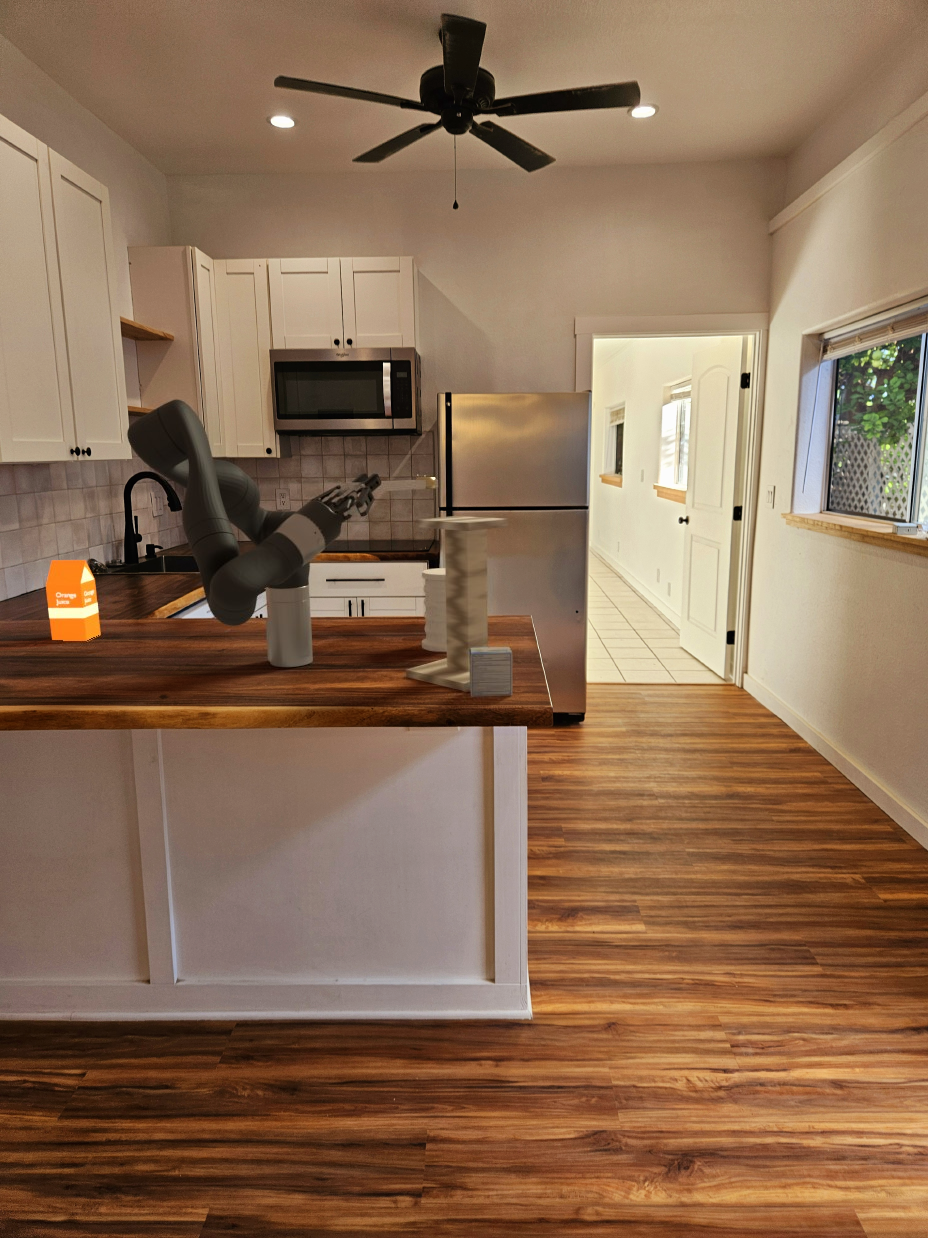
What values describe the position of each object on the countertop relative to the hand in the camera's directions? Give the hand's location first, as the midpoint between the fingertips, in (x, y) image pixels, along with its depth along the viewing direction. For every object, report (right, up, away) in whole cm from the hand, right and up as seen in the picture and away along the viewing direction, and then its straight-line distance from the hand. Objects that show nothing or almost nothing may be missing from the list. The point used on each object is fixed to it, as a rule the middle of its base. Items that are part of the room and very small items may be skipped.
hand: (372, 478), depth 140 cm
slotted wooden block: (+4, -1, +4) cm, 6 cm away
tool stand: (+15, -37, +24) cm, 46 cm away
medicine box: (+21, -39, +12) cm, 46 cm away
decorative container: (+12, -31, +50) cm, 61 cm away
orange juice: (-82, -30, +63) cm, 108 cm away
